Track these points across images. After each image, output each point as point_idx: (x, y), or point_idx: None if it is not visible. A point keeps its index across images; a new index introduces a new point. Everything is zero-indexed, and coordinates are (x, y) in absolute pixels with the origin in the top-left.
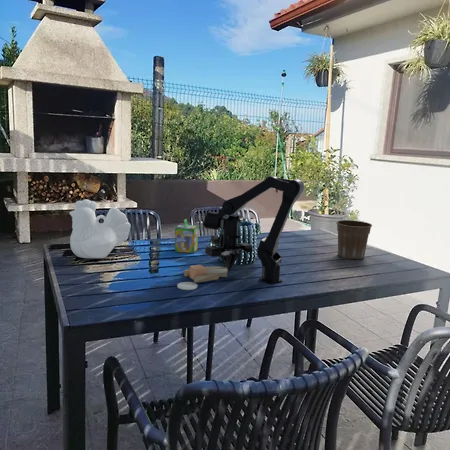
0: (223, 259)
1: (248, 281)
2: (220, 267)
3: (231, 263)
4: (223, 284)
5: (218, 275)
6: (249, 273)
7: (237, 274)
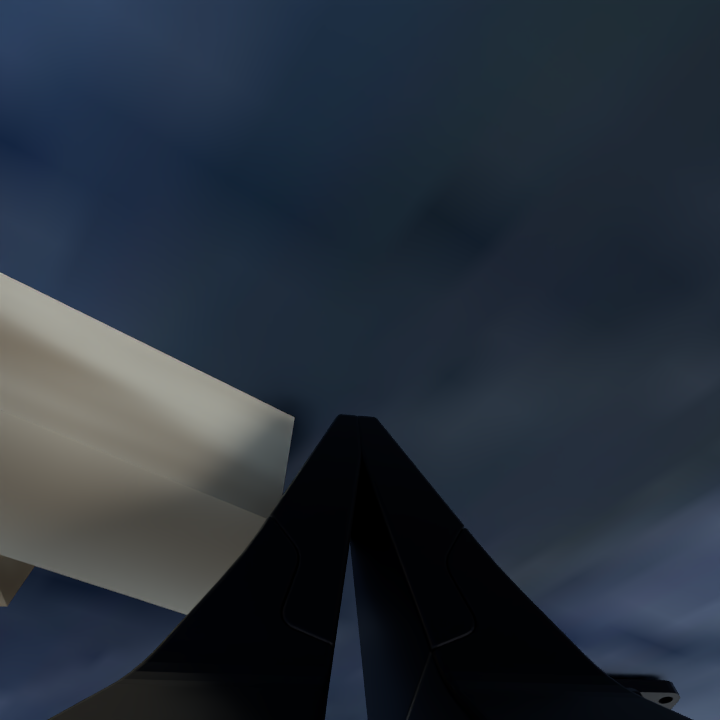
0: (208, 595)
1: (362, 672)
2: (113, 508)
3: (362, 642)
4: (47, 647)
5: (17, 577)
6: (619, 521)
7: (446, 487)
